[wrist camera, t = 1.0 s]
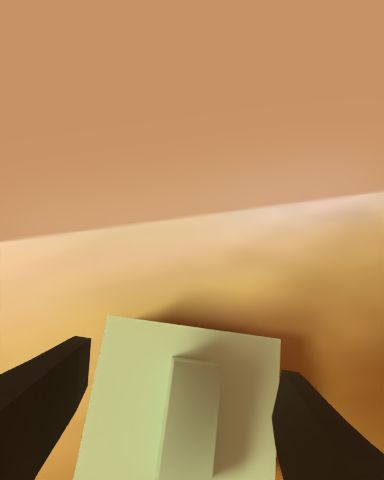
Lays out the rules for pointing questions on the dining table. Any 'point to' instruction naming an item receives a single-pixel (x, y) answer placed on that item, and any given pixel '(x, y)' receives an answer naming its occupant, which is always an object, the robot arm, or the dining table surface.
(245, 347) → the lid
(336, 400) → the dining table surface
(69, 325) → the dining table surface
